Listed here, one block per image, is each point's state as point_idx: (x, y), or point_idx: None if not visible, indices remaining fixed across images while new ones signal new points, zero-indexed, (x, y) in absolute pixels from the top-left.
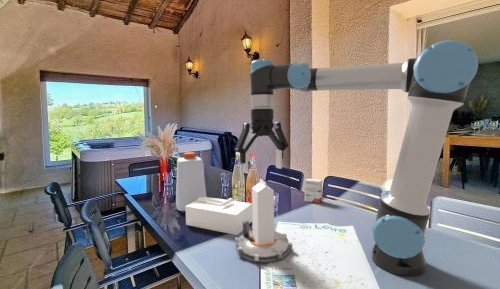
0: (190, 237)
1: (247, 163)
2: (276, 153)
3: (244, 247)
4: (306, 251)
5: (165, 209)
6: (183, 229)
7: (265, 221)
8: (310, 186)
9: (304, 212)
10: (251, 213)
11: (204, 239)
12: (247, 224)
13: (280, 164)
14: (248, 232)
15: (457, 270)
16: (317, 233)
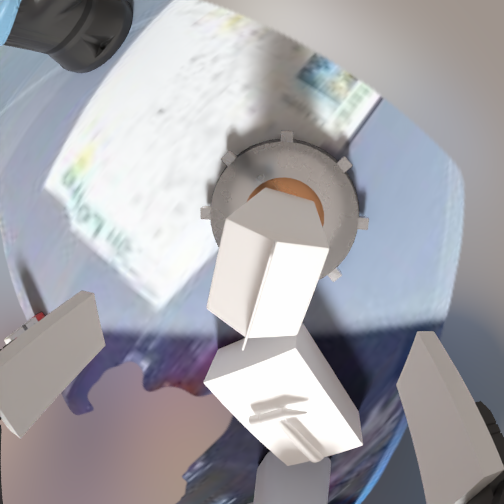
0: (389, 360)
1: (457, 391)
2: (34, 408)
3: (350, 217)
4: (198, 136)
5: (343, 469)
6: (376, 396)
7: (289, 204)
8: None
9: None
10: (214, 362)
11: (374, 337)
12: None
13: (70, 309)
14: None
15: None
16: (116, 197)
